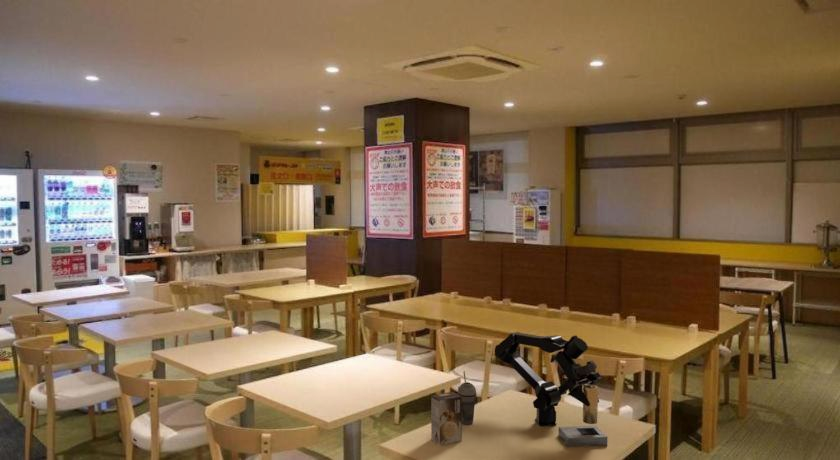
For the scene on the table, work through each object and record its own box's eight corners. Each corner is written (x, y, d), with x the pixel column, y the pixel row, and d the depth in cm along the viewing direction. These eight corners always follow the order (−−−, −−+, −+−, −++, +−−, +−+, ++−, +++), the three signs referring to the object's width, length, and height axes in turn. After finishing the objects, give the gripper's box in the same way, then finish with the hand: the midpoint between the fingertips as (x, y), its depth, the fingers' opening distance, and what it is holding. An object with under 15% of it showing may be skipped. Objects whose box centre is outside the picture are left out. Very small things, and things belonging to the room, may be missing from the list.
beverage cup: (475, 427, 222) (475, 374, 221) (455, 426, 224) (456, 373, 223) (477, 420, 229) (477, 369, 228) (458, 419, 231) (458, 367, 230)
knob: (581, 422, 211) (581, 387, 211) (584, 417, 216) (585, 383, 215) (595, 425, 209) (596, 389, 208) (598, 420, 213) (599, 385, 213)
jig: (568, 446, 206) (568, 438, 206) (558, 435, 216) (558, 426, 216) (607, 445, 207) (607, 436, 207) (595, 433, 217) (596, 425, 217)
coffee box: (452, 434, 216) (453, 391, 215) (462, 441, 210) (462, 396, 209) (430, 439, 211) (430, 394, 211) (439, 446, 206) (439, 400, 205)
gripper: (565, 358, 208) (592, 398, 200) (597, 350, 220) (623, 387, 212) (547, 375, 215) (572, 414, 207) (578, 366, 226) (603, 402, 219)
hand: (593, 404), depth 211 cm, fingers closed on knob, 5 cm apart
